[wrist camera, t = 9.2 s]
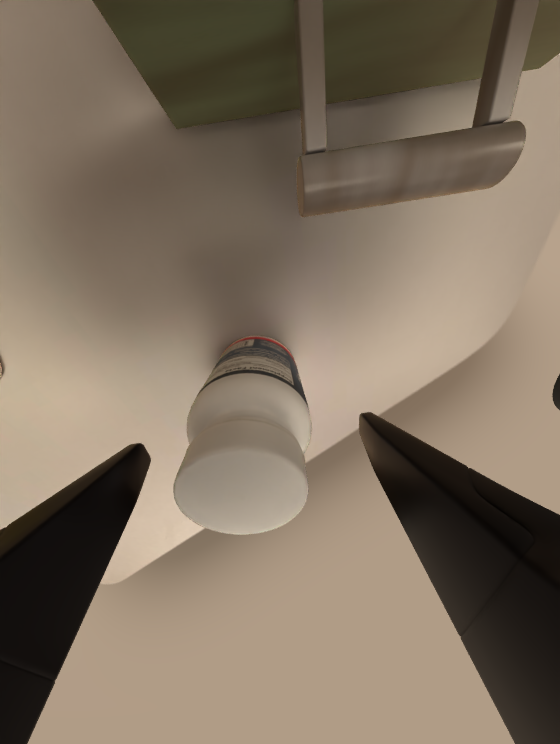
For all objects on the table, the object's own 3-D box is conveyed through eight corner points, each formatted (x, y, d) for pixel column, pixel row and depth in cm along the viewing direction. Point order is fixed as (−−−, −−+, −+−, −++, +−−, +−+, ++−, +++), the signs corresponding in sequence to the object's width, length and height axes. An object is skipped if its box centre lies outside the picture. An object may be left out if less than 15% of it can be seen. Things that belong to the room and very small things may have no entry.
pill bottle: (284, 409, 16) (299, 553, 8) (214, 395, 15) (148, 540, 7) (306, 344, 13) (359, 450, 5) (225, 324, 13) (147, 413, 5)
